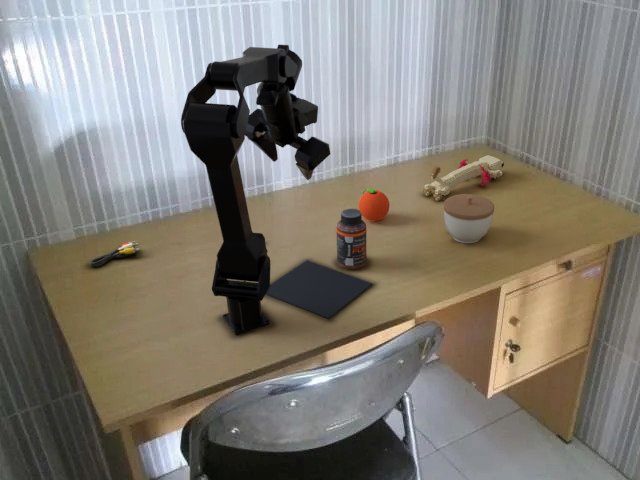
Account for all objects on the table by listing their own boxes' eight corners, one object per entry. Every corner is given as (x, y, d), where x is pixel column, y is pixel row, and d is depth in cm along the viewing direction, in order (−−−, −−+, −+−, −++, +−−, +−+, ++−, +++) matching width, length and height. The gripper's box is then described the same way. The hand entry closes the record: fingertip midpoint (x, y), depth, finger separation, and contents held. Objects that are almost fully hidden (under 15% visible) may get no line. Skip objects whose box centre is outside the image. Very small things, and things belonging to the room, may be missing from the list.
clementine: (350, 216, 155) (349, 187, 151) (375, 208, 159) (374, 180, 155) (370, 229, 150) (370, 200, 146) (395, 221, 154) (396, 192, 150)
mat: (307, 261, 138) (307, 260, 138) (372, 284, 131) (372, 283, 131) (260, 292, 128) (260, 291, 128) (328, 319, 121) (328, 317, 121)
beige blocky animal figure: (445, 209, 162) (514, 175, 175) (445, 176, 157) (516, 143, 170) (417, 196, 168) (485, 163, 181) (416, 163, 163) (486, 132, 176)
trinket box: (433, 241, 146) (435, 201, 141) (454, 221, 154) (456, 183, 149) (480, 253, 142) (483, 212, 137) (498, 232, 150) (502, 193, 145)
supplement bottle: (355, 273, 134) (354, 222, 128) (331, 265, 137) (329, 214, 130) (372, 261, 138) (372, 210, 132) (348, 253, 141) (347, 203, 135)
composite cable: (92, 268, 134) (89, 258, 132) (86, 258, 137) (83, 247, 136) (142, 256, 138) (140, 245, 137) (136, 246, 142) (133, 235, 140)
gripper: (343, 103, 126) (352, 164, 139) (269, 68, 132) (284, 129, 145) (304, 138, 121) (317, 198, 134) (229, 99, 128) (248, 160, 141)
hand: (292, 169), depth 139 cm, fingers open, 9 cm apart
